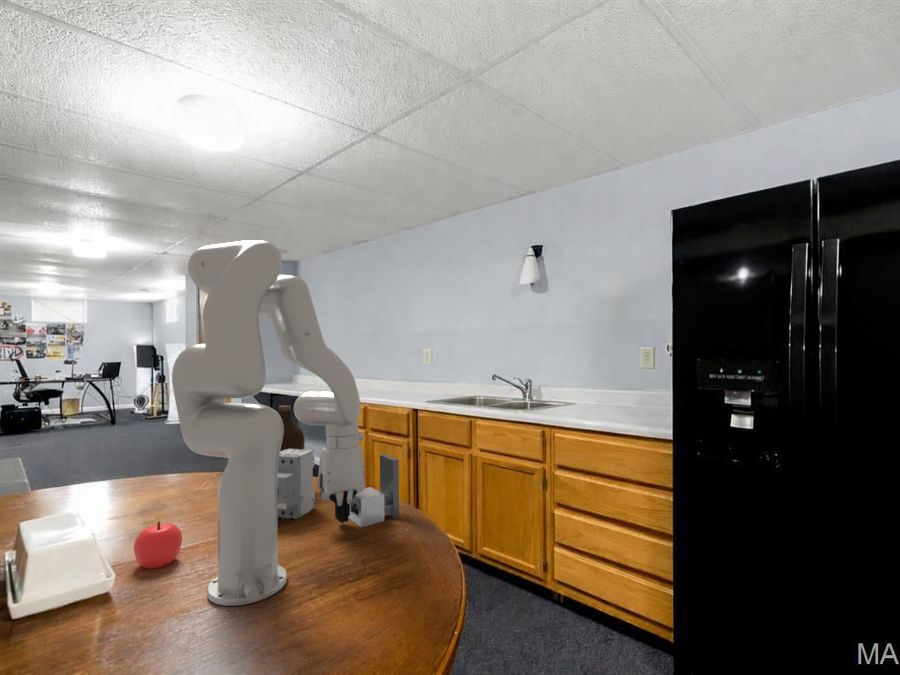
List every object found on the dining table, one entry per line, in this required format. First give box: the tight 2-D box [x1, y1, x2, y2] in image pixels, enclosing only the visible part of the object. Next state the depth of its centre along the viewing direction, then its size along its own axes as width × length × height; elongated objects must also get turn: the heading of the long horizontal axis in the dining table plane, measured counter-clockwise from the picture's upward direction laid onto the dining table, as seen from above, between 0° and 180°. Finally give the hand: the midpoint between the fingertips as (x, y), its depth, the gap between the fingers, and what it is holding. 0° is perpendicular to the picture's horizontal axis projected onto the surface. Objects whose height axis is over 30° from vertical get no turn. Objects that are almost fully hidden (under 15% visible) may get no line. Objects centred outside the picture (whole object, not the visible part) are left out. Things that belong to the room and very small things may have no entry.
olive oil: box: [277, 404, 305, 452], centre depth 130 cm, size 11×11×25 cm
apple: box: [133, 520, 183, 570], centre depth 88 cm, size 8×8×8 cm
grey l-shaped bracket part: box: [356, 454, 400, 519], centre depth 111 cm, size 7×9×14 cm
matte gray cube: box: [348, 486, 385, 528], centre depth 110 cm, size 7×6×6 cm
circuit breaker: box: [277, 448, 316, 520], centre depth 112 cm, size 8×14×15 cm, turn 166°
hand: (342, 520), depth 106 cm, fingers closed
